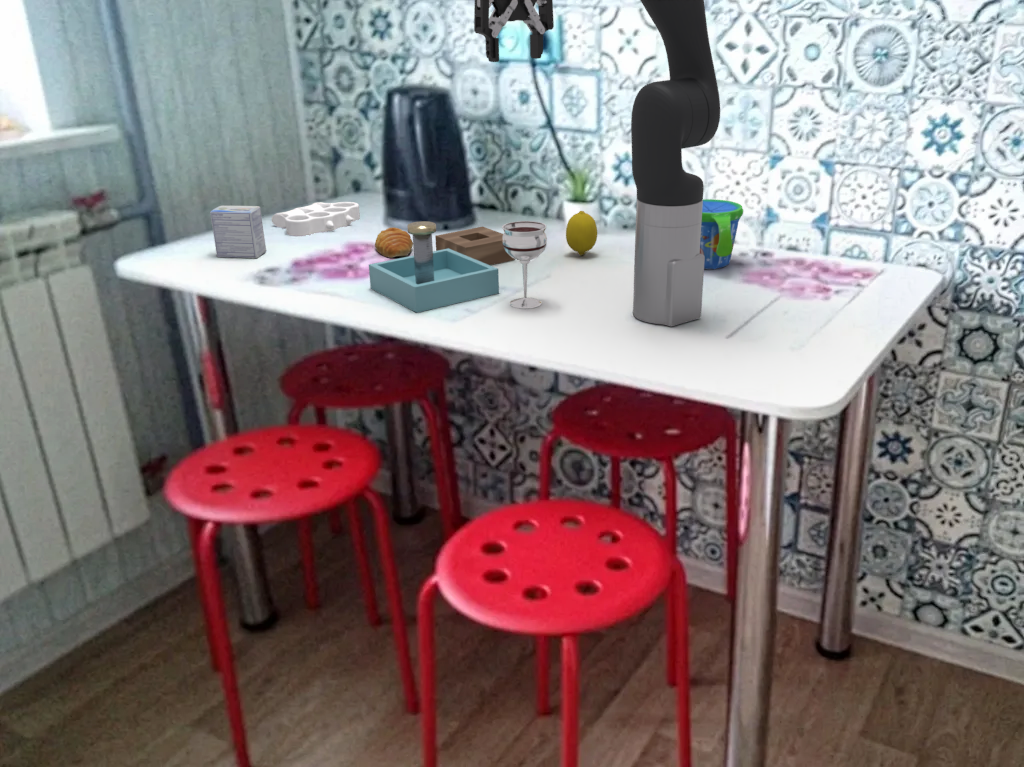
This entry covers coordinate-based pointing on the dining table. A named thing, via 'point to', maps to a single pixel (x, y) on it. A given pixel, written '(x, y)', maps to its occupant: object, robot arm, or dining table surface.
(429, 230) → the lock pin
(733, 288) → the dining table surface
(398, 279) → the pin tray
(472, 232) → the wooden square hole block
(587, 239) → the lemon
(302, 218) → the knuckle duster
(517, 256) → the wineglass
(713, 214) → the snack cup
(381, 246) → the pastry
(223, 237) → the medicine box
